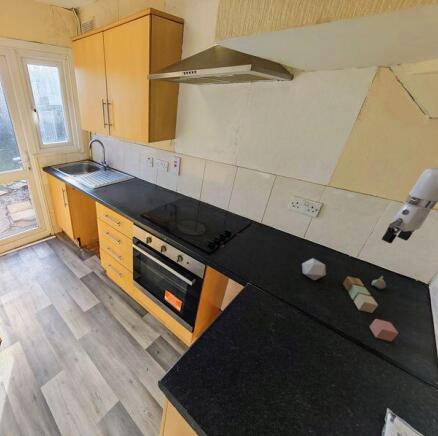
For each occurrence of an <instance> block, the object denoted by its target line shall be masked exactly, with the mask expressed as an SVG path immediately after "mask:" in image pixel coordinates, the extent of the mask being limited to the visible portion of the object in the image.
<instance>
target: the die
mask: <svg viewBox="0 0 438 436" xmlns="http://www.w3.org/2000/svg"><path fill="white" fill-rule="evenodd" d="M301 269H302V274H303V275H305V276H306V277H308V278H310V279H311V280H313V281H317V280H318V279H320V278H323V277H324V276H326V275H327V273H326V264H324V263H323V262H321V261H320V260H317V259H315V258H313V257H312V258H311V259H308V260H306V261H304V262H303V263H301Z"/></svg>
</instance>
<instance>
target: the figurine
mask: <svg viewBox="0 0 438 436" xmlns="http://www.w3.org/2000/svg"><path fill="white" fill-rule="evenodd" d="M371 286H373V287H375V288H376V289H377V290H384V288H386V287H387V284H386V282H385V280H384V275H380V277H379V278H378V279H373V280H372V281H371Z"/></svg>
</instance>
